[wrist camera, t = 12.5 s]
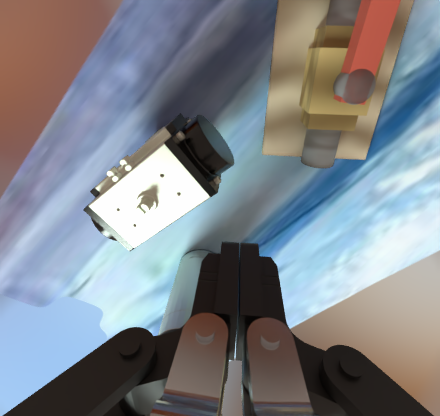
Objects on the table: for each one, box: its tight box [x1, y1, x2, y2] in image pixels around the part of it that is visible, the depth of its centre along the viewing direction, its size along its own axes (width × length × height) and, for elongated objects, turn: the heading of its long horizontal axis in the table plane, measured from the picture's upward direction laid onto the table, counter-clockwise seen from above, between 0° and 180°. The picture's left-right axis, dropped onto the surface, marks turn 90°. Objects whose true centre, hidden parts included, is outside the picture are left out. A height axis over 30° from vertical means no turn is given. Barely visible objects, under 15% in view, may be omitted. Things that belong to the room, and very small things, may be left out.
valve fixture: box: [262, 0, 414, 168], centre depth 32 cm, size 21×15×9 cm
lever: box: [333, 0, 401, 105], centre depth 24 cm, size 16×3×2 cm, turn 175°
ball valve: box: [84, 113, 234, 251], centre depth 35 cm, size 18×8×18 cm, turn 128°
